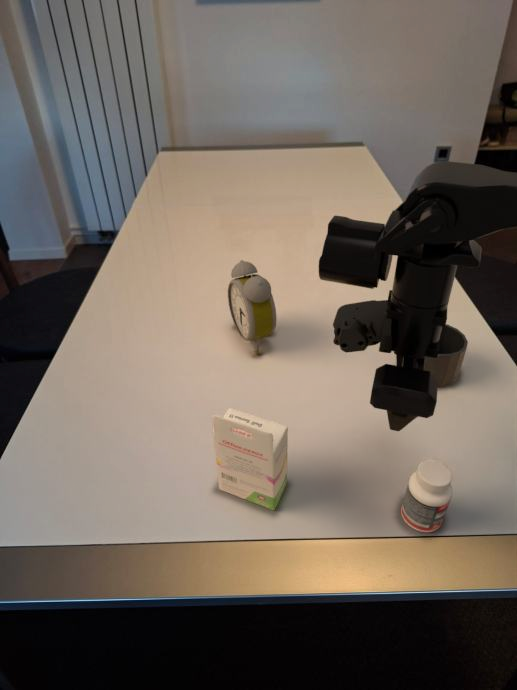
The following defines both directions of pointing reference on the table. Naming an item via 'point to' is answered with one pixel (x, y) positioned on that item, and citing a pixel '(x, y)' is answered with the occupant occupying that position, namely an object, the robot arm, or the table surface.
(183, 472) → the table surface
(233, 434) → the white medicine box
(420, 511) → the pill bottle
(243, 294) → the alarm clock
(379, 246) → the robot arm
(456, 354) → the pen holder
